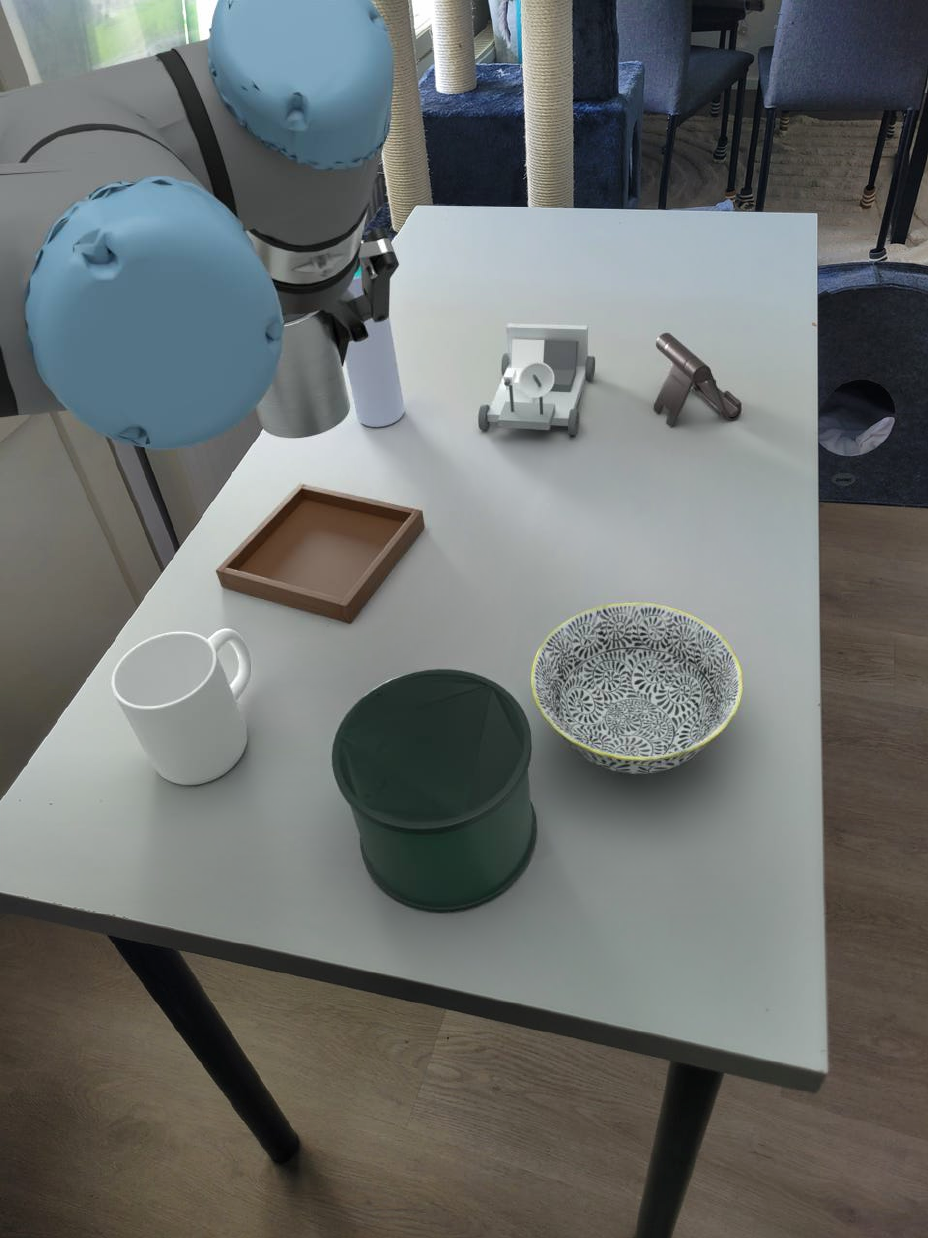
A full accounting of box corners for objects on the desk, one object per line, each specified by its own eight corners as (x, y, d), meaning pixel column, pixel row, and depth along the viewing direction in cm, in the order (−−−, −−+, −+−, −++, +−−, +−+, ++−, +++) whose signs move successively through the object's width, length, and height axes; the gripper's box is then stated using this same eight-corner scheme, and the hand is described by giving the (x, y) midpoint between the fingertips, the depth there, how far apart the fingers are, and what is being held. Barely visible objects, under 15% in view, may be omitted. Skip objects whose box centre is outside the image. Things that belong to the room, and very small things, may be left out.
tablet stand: (741, 419, 107) (749, 353, 101) (680, 437, 106) (685, 371, 100) (702, 385, 113) (708, 320, 107) (644, 401, 112) (647, 337, 106)
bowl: (724, 834, 68) (735, 774, 63) (515, 798, 73) (509, 738, 67) (739, 677, 79) (749, 614, 74) (556, 653, 83) (554, 591, 78)
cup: (133, 765, 79) (88, 686, 72) (227, 672, 86) (194, 591, 79) (204, 803, 75) (163, 723, 68) (296, 702, 82) (268, 621, 75)
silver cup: (241, 429, 72) (208, 320, 66) (293, 383, 76) (266, 277, 70) (318, 445, 69) (290, 333, 63) (367, 397, 74) (345, 287, 68)
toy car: (569, 376, 99) (465, 371, 102) (571, 453, 106) (473, 447, 108) (595, 299, 111) (501, 297, 114) (595, 373, 118) (507, 369, 121)
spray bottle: (407, 401, 117) (379, 226, 102) (402, 427, 113) (371, 249, 98) (361, 403, 118) (325, 230, 103) (353, 429, 114) (316, 253, 99)
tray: (221, 587, 95) (215, 570, 93) (303, 499, 104) (299, 482, 103) (350, 623, 89) (346, 606, 87) (425, 527, 98) (422, 510, 97)
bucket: (326, 875, 69) (292, 788, 62) (412, 739, 78) (392, 649, 70) (492, 943, 64) (478, 858, 57) (565, 790, 73) (561, 698, 65)
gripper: (139, 337, 49) (178, 448, 71) (483, 241, 54) (418, 374, 76) (89, 204, 49) (144, 357, 71) (437, 120, 54) (386, 288, 76)
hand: (285, 365), depth 74 cm, fingers closed on silver cup, 7 cm apart
